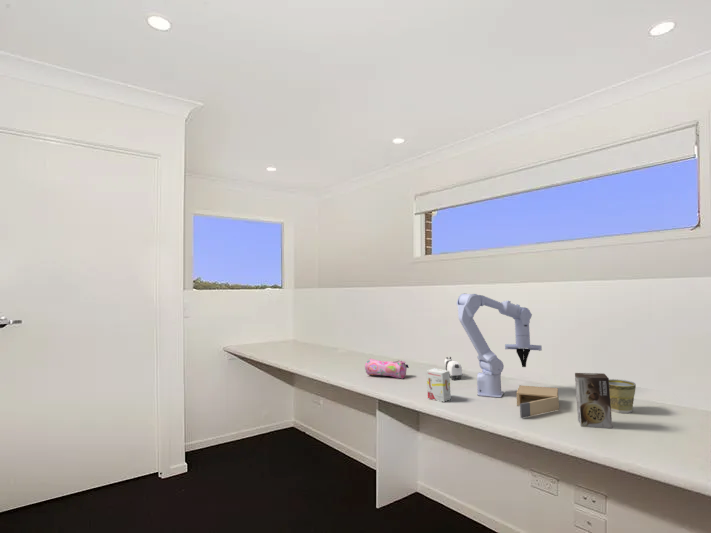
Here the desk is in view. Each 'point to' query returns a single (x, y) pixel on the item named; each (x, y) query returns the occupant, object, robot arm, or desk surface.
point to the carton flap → (539, 407)
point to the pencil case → (386, 368)
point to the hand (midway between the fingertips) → (524, 366)
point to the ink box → (438, 384)
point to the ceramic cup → (621, 395)
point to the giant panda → (453, 368)
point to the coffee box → (593, 400)
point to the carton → (534, 393)
